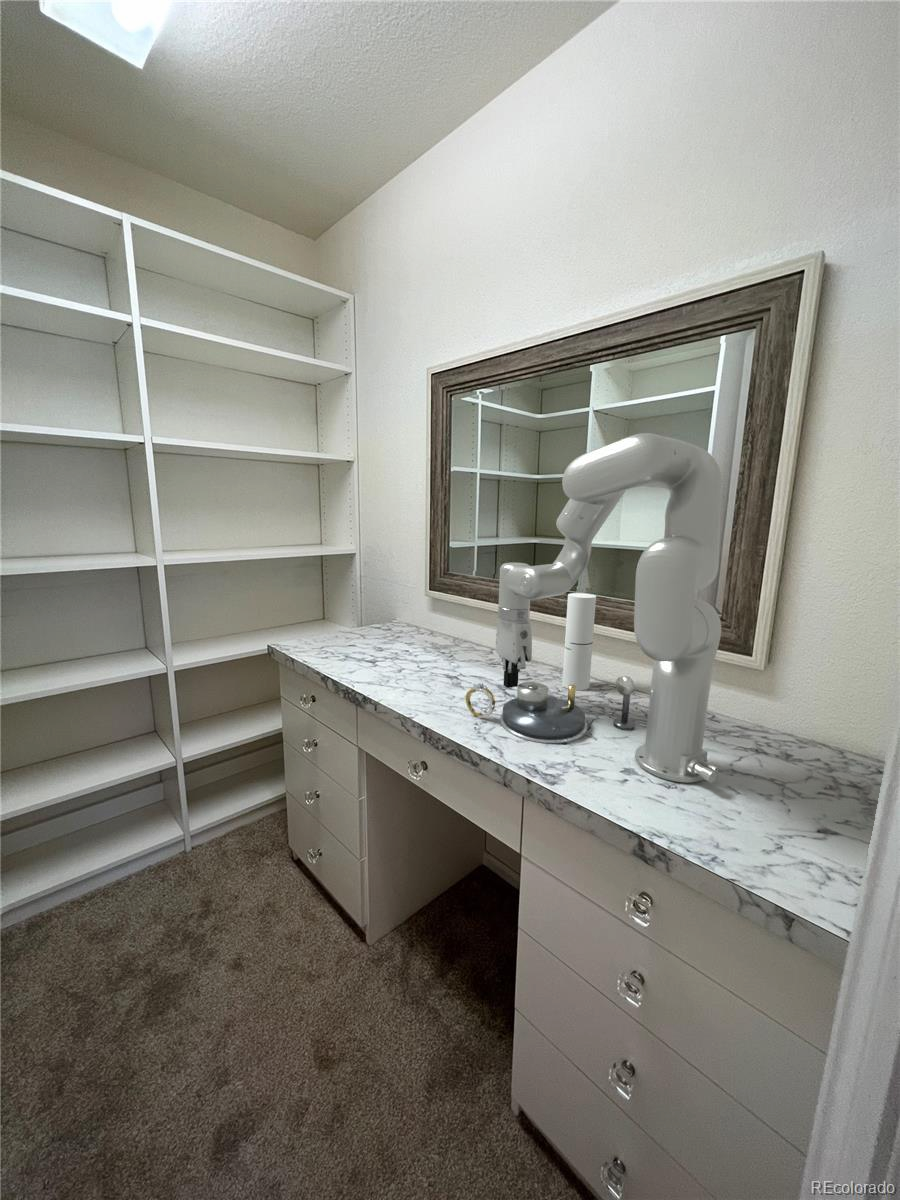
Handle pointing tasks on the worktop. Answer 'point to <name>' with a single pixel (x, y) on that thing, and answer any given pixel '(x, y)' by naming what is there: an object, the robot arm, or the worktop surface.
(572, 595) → the cylindrical container
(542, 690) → the cover
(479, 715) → the bracelet
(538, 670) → the worktop surface
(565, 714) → the turntable
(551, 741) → the base
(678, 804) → the worktop surface
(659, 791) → the worktop surface
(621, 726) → the ball topped stand
